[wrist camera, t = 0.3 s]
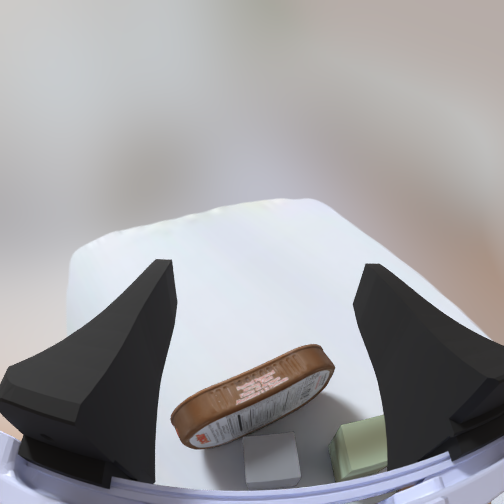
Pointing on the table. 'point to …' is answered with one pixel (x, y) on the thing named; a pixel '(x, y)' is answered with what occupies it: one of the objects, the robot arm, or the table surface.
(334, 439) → the green block
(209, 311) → the table surface
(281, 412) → the tin
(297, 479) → the grey block
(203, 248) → the table surface
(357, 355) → the table surface
